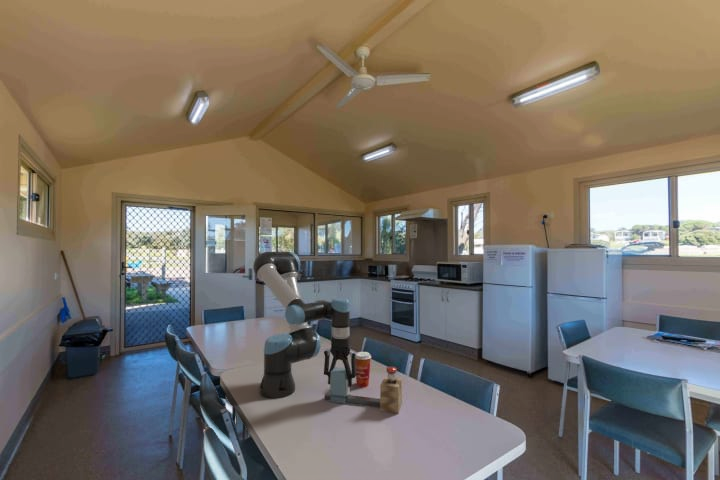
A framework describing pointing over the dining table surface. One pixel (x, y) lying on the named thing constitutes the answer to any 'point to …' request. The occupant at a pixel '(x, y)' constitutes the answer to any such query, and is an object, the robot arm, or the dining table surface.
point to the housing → (391, 396)
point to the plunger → (391, 374)
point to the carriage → (338, 385)
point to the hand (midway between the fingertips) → (339, 393)
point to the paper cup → (362, 369)
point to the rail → (358, 400)
